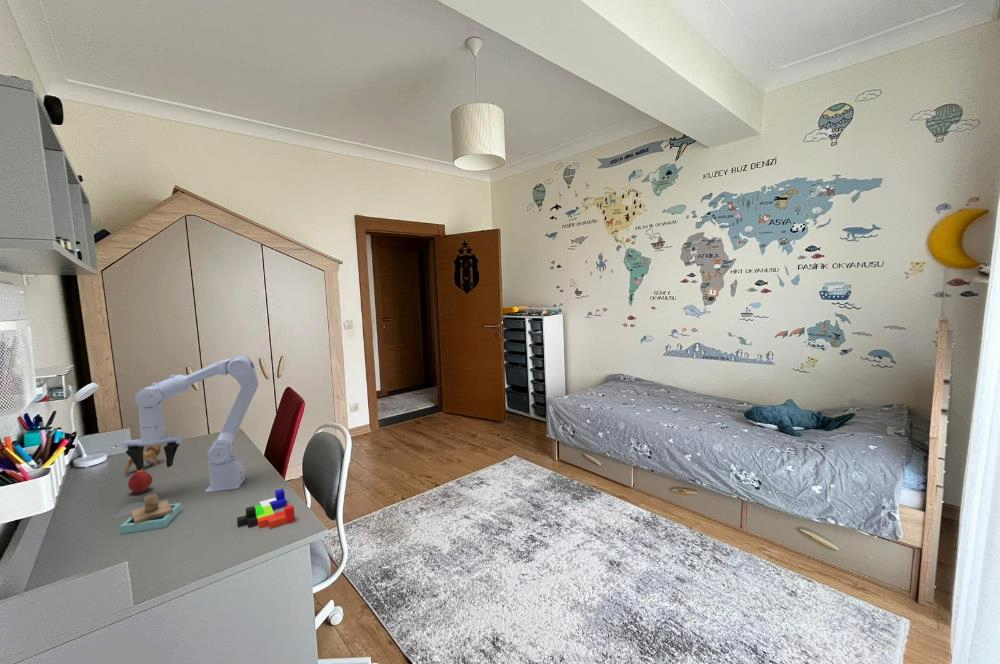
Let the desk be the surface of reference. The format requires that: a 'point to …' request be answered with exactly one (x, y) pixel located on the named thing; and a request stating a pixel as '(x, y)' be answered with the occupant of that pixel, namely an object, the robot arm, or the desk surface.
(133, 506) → the mat
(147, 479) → the pomegranate
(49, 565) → the desk surface
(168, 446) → the robot arm
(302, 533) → the desk surface
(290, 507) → the building blocks
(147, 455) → the lion figurine
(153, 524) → the dish
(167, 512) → the lid
